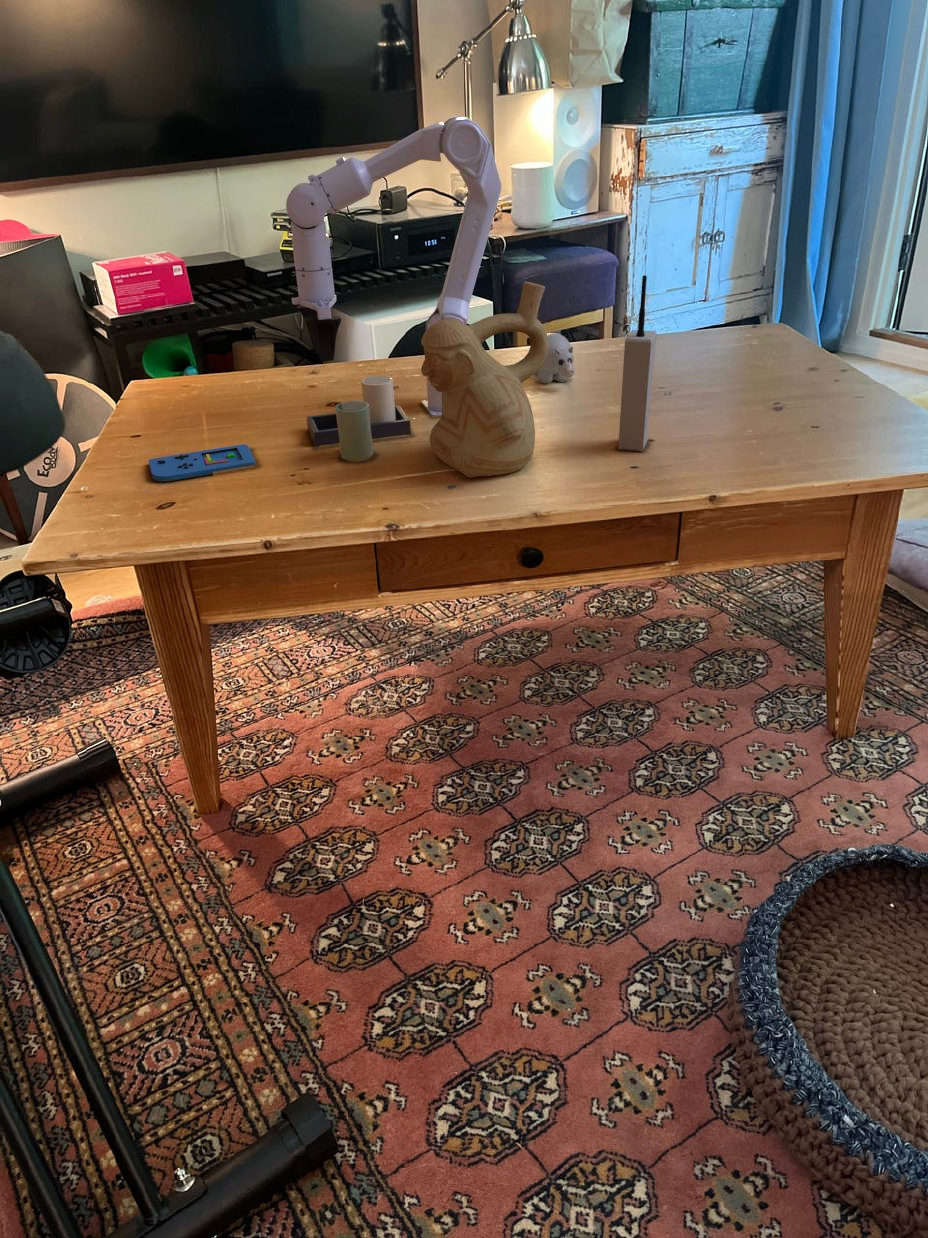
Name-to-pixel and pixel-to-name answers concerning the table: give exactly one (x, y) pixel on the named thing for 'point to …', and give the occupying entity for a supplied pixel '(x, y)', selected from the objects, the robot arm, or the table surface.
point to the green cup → (354, 430)
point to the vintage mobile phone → (637, 383)
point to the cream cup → (379, 398)
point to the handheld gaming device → (200, 463)
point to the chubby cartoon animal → (557, 360)
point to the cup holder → (327, 430)
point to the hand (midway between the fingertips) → (323, 354)
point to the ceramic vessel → (484, 390)
